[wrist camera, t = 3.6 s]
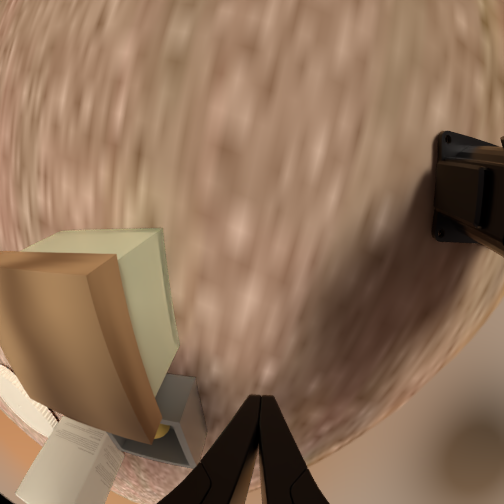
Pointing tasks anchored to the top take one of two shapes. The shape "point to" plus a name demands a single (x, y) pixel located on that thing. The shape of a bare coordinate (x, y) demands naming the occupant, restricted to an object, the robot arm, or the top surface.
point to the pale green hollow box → (133, 287)
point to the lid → (76, 340)
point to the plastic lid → (25, 404)
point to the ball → (162, 431)
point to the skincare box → (72, 467)
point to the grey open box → (173, 425)
